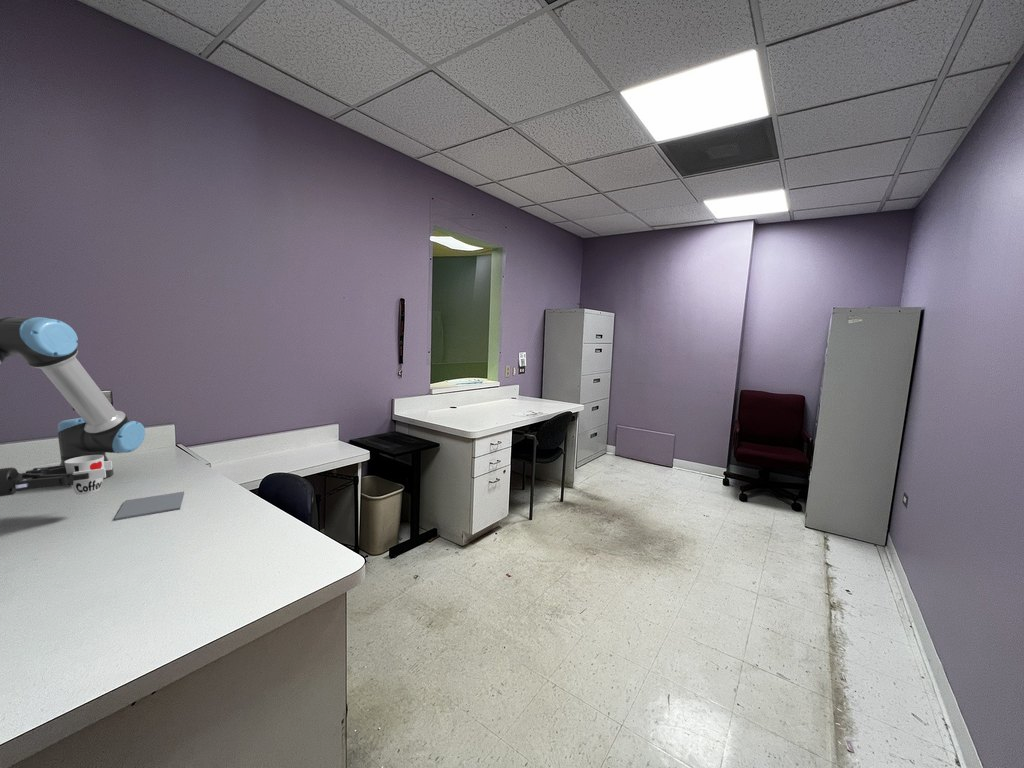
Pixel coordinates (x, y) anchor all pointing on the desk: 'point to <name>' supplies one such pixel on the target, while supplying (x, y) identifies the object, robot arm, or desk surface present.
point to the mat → (150, 505)
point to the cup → (83, 465)
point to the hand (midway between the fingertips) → (108, 468)
